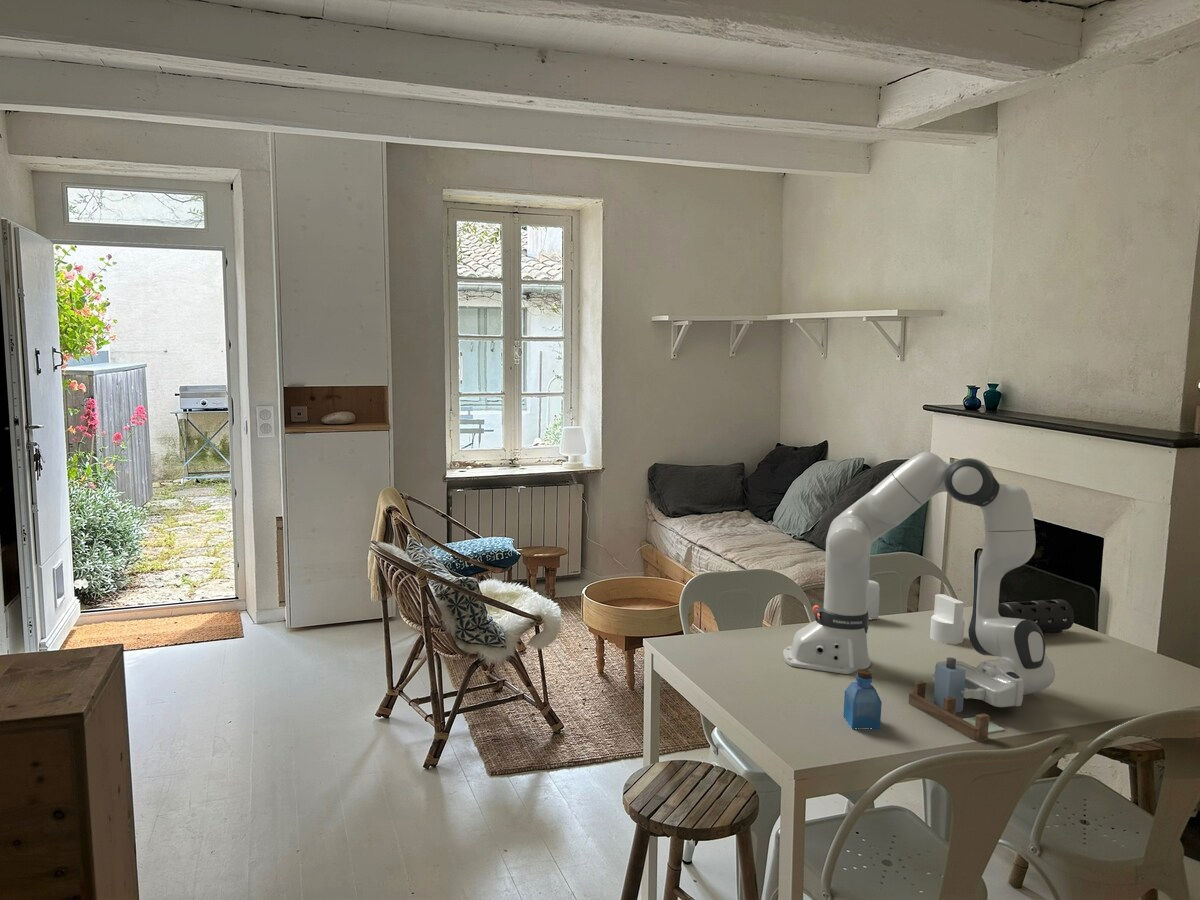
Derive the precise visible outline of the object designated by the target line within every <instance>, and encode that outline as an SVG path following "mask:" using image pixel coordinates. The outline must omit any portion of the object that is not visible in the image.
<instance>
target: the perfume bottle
mask: <svg viewBox="0 0 1200 900" xmlns="http://www.w3.org/2000/svg"><path fill="white" fill-rule="evenodd" d="M856 673H857V674H856V675H855V681H856V682H854V681H852V682H851V683H850V684H849V685H848V686H847V688H846V689H845V690H844V697H843V698H844V702H843V713H842V714H843V716H842V717H844V718H845V719H846V720H845V719H844V718H843V719H844V720H845V722H846V721H847V722H848V723H847V722H846V723H847V724H848V726H849V725H850V726H851V727H850V726H849V727H850V729H851V728H852V729H851V730H859V729H858V728H869V729H868V730H880V729H881V720H882V719H881V718H882V702H883V701H882V700H881V698H880V696H879V693H878V692H877V689H876V688H875V687H874V686H873V684H872V683H873V676H872V674H873V672H872V670H871V669H868V668H866V669H858V670H857V671H856ZM853 728H854V729H853ZM855 728H857V729H855ZM870 728H872V729H870Z"/></svg>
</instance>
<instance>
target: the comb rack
mask: <svg viewBox="0 0 1200 900" xmlns="http://www.w3.org/2000/svg"><path fill="white" fill-rule="evenodd" d="M926 688H927V682H926V681H923V680H921V681H914V682H913V692H909V693H908V704H909V705H910V706H912V705H913V707H914V708H916V709H918V710H919V711H921V712H923V713H925V714H927V716H928V715H929V716H930V717H931V718H934V719H936V720H937V721H939V722H941V723H942V724H945V725H946V726H948V727H950V728H952V729H953V730H955V731H956V732H958V733H960V734H961V735H964V736H966V737H967V738H969V739H971V740H972V741H979V740H984V739H988V738H989V737H988V735H989V734H993V733H997V732H1002V731H1005V728H1003V727H1001V726H999V725H998V724H996V723H994V722H992V721H990V715H988V714H987V713H981V714H976V715H975V716H972V717H966V718H965V717H964V718H962V717H960V716H958V715H956V713H955V709H956V698H954V697H946V698H944V699H943V708H941V707H939V706H937V705H935V704H934V703H933V702H932V701H931V700H928V699H926Z"/></svg>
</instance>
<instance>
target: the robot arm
mask: <svg viewBox="0 0 1200 900" xmlns="http://www.w3.org/2000/svg"><path fill="white" fill-rule="evenodd" d="M943 492H944V493H948V494H949V495H950V497H951V498H953V499H954V500H956V501H958V502H961V503H963V504H967V505H968V504H969V505H972V506H973V505H974V506H978V507H980V509H981V511H982V516H983V521H984V543H983V544H984V545H983V548H982V551H981V553H980V554H979V555H978V557H977V559H976V563H975V564H976V565H975V572H974V585H973V600H972V601H973V603H972V611H971V612H972V613H971V617H970V618H971V619H970V622H969V626H968V638H969V639H968V640H969V642H970V644H971V646H972V648H973V649H974V650H975V651H976V652H977V653H978V654H980V655H982V656H989V657H990V656H991V657H999V658H997V659H990V660H983V661H981V662H980V663H978V665H977V666H976V667H975V666H973V665H972V664H968V663H967V662H964V661H960V660H956V665H957V666H959V667H961V668H963V669H965V670H966V673H965V686H964V689H961V693H960V696H962V697H964V699H974V700H975V699H976V700H981V701H983V702H985V703H988V704H989V705H991V706H993V707H997V708H1007V707H1008V708H1009V707H1021V706H1022V705H1023V704H1022V703H1023V699H1024V695H1029V694H1034V693H1038V692H1042V691H1044V690H1045V689H1047V688H1049V687H1050V686H1051V685H1052V684H1053V683H1054V681H1055V677H1056V668H1055V665H1054V663H1053V661H1051V659H1050V658H1049V657H1048V656H1047V653H1046V641H1045V637H1044V634H1043V633H1042V631H1041V629H1040V628H1039V626H1038V625H1037V624H1036V623H1035V622H1033V621H1031V620H1025V619H1018V618H1007V617H1001V616H1000V615H999V612H998V604H999V603H1000V602H999V600H1000V587H1001V582H1002V578H1003V577H1004V576H1005V575H1006V574H1008V573H1009V572H1011V571H1012V570H1014V569H1017V568H1020V567H1022V566H1024V565H1025V564H1026V563H1028V562H1029V560H1030V559H1031V558H1032V557H1033V555H1035V551H1036V542H1037V541H1036V530H1035V529H1036V528H1035V521H1034V519H1035V518H1034V514H1033V510H1032V509H1033V508H1032V505H1031V500H1030V498H1029V495H1028V492H1027V491H1026V490H1025V489H1024V488H1023V487H1021V486H1018V485H1016V484H1011V483H1010V484H1009V483H1007V484H1003V483H999V481H998V480H997V479H996V478H995V476H994V472H993V471H992V468H991V467H990V466H989V465H988V464H987V463H985V462H984V461H982V460H981V459H978V458H974V457H973V458H971V457H968V458H967V457H966V458H961V459H959V460H957V461H954V462H951V463H949V462H946V461H945V460H944V459H942V458H941V457H940V456H939V455H938V454H936V453H933V452H930V451H922V452H919V453H917V454H916V455H915V456H913V457H911V458H909V459H907V460H906V461H905V462H903V463H902V464H901V465H899V466H898V467H897V468H895V469H894V470H893V471H892V472H891V473H889V475H887V476H886V477H884V478H883V479H882V480H881V481H880V482H879V483H878V484H876V485H875V486H874V487H873V488H872V489H870V491H869V492H867V493H866V494H865V495H863V496H862V497H861V498H859V499H858V500H857V501H855V502H854V503H853V504H851V505H850V506H848V507H847V508H846V509H844V510H843V511H842V512H841V513H840V514H839V515H838V516H836V517H835V518H833V520H832V521H831V523H830V524H829V528H828V532H827V535H826V538H825V562H824V563H825V566H824V568H825V569H824V574H825V575H824V594H823V606H821V607H820V605H818V604H815V605H813V606H812V611H813V612H812V613H814V621H812V622H810V623H809V624H807V625H805V626H804V627H802V628H799V629H798V630H797V631H796V632H795V634H794V636H793V639H792V642H791V645H788V646H786V647H785V648H784V649H783V651H782V659H783V661H784V662H785V663H786V664H787V665H789V666H790V667H796V668H802V669H809V670H816V671H822V672H830V673H835V674H837V673H838V674H843V675H850V674H853V673H855V672H857V670H858V669H868V668H869V667H871V661H870V657H869V652H868V649H869V648H868V643H867V642H868V641H867V639H868V638H867V637H868V636H867V633H868V630H869V621H870V620H869V616H868V611H867V602H868V585H869V580H870V565H871V549H872V544H873V543H874V542H875V541H876V540H879V538H881V537H882V536H884V535H885V534H887V533H888V532H889V531H891V530H892V529H894V528H896V527H897V526H900V524H902V523H903V522H904V521H905V520H907V518H909V517H910V516H911V515H912V514H914V513H915V512H916V511H918V509H920V508H921V507H922V506H924V505H925V503H927V502H928V501H929V500H930V499H932V498H933V497H934V496H936V495H937V494H938V495H939V494H940V493H943ZM946 662H947V660H942V661H937V662H936V663H935V667H934V673H932V674H931V676H930V681H931V682H933V683H935V674H936V665H940V664H946Z"/></svg>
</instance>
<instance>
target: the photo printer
mask: <svg viewBox="0 0 1200 900" xmlns="http://www.w3.org/2000/svg"><path fill="white" fill-rule="evenodd" d="M880 590H881V588H880V583H878V581H875V580H872V579H869V585H868V602H867V611H868V616H869V618H871V619H869V621H873V620H872V619H877V620H878V619H879V614H880V613H879V612H880V611H879V610H880Z"/></svg>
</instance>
